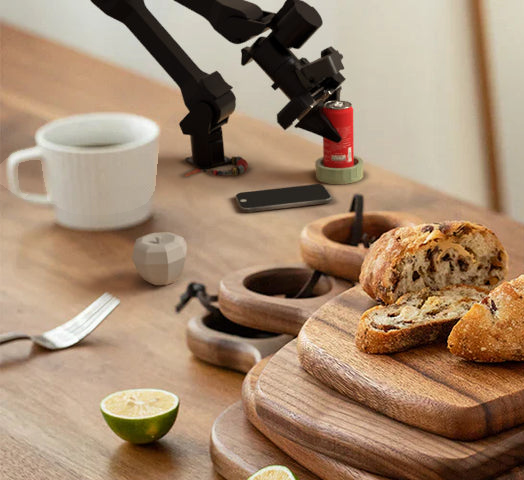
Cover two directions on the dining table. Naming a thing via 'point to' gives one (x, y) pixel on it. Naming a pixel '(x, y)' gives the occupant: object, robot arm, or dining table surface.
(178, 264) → the apple
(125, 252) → the dining table surface
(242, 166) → the necklace
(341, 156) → the beverage can
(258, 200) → the smartphone
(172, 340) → the dining table surface
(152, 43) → the robot arm
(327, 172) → the ring
